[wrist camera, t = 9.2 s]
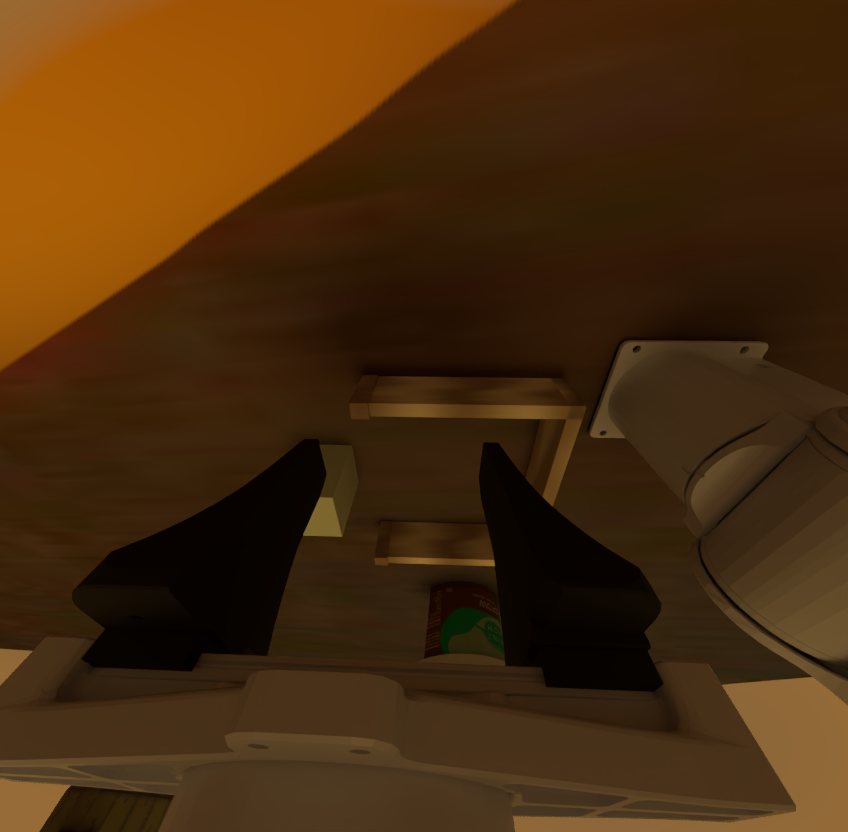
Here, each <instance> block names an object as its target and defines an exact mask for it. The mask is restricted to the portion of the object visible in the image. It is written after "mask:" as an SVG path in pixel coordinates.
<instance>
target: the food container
mask: <svg viewBox="0 0 848 832" xmlns="http://www.w3.org/2000/svg"><path fill="white" fill-rule="evenodd" d="M419 662H424V663H448V664H472V665H495V666H505V657H504V645H503V634H502V628H501V624H500V620H499V615H498V611H497V607H496V602H495V598H494V596H493V594H492V592H491V591H490V590H489V589H487V588H486V587H484V586H482V585H479V584H475V583H470V582H450V583H445V584H441V585H439V586H436V587H434V588H432V589H431V594H430V604H429V614H428V624H427V634H426V644H425V654H424V659H423V660H420V661H419Z"/></svg>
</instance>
